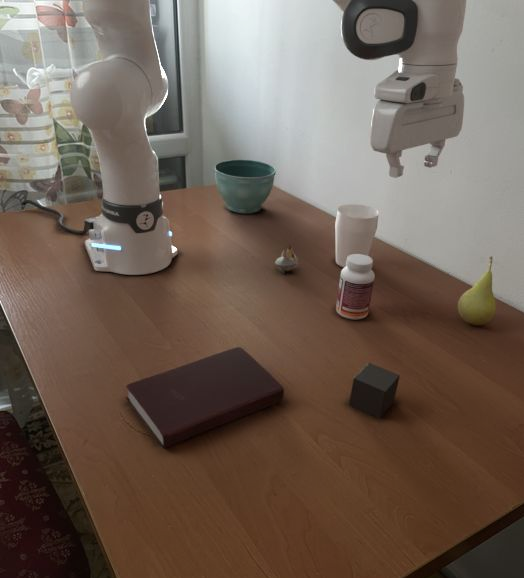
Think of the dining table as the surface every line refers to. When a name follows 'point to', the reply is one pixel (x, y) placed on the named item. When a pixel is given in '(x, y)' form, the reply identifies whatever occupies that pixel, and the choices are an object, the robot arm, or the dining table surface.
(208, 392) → the book
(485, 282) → the fruit
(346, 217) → the cup
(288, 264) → the figurine
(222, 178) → the flower pot
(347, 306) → the pill bottle
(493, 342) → the dining table surface
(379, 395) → the charcoal block
